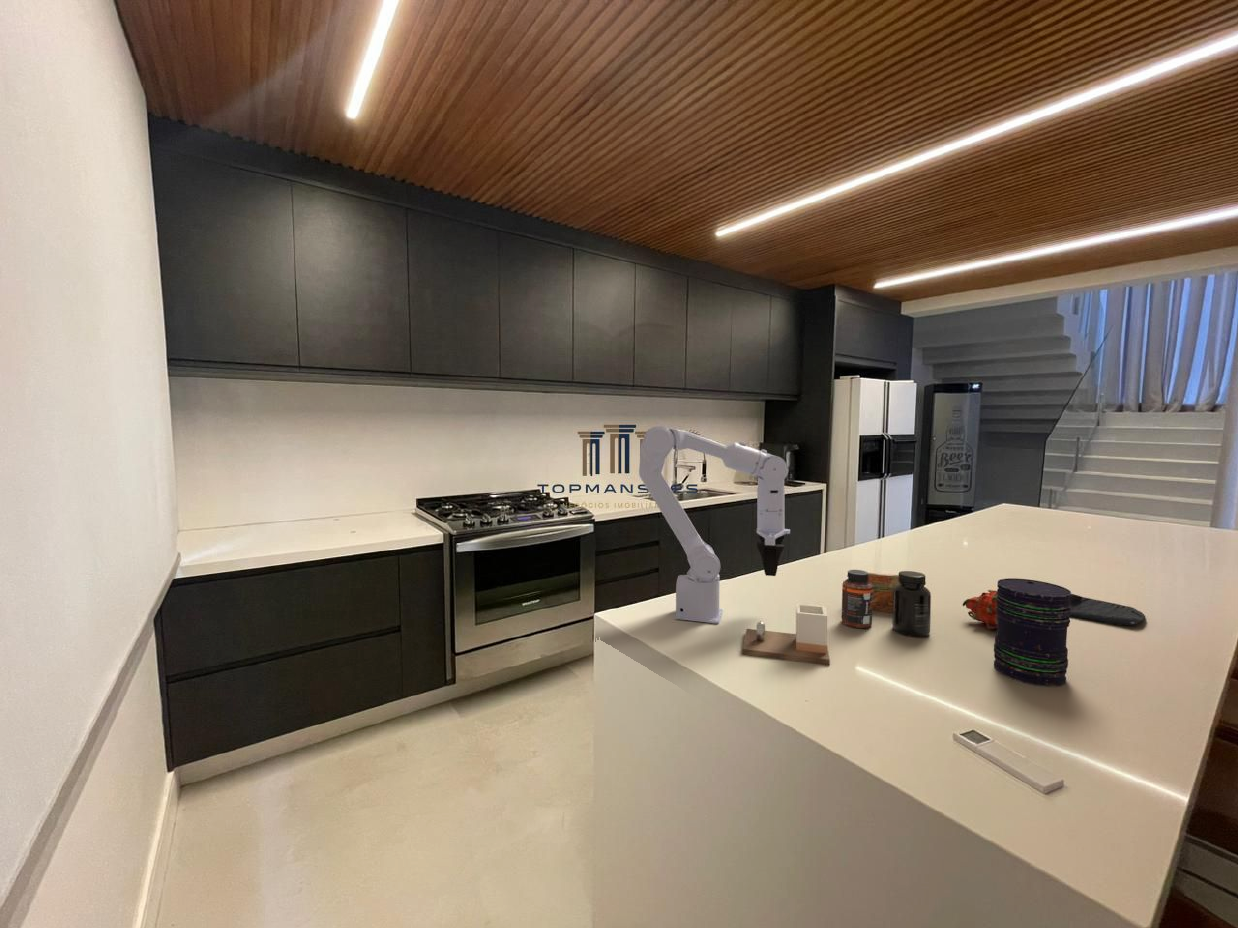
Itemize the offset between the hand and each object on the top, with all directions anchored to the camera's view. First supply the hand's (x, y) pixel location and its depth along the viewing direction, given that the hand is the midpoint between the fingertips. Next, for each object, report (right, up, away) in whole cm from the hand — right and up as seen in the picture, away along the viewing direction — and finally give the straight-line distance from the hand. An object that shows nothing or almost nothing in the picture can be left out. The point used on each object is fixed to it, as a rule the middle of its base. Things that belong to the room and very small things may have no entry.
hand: (771, 570), depth 113 cm
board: (-2, -12, -16) cm, 19 cm away
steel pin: (-6, -11, -14) cm, 19 cm away
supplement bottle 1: (+17, -11, -4) cm, 21 cm away
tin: (+27, -10, +4) cm, 29 cm away
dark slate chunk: (+70, -10, +3) cm, 71 cm away
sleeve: (+2, -11, -17) cm, 20 cm away
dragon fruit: (+45, -11, -7) cm, 46 cm away
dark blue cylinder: (+36, -12, -26) cm, 46 cm away
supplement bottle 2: (+26, -11, -8) cm, 30 cm away
